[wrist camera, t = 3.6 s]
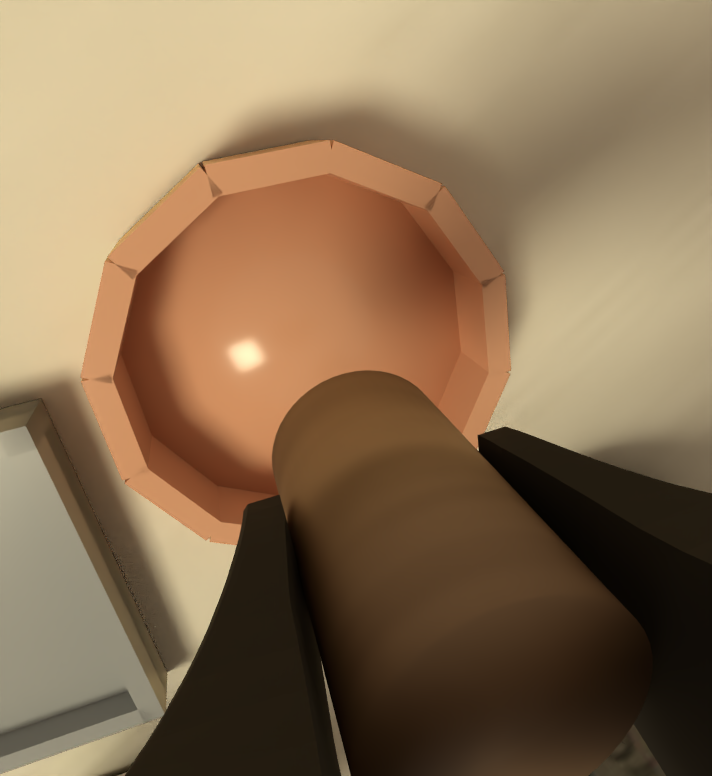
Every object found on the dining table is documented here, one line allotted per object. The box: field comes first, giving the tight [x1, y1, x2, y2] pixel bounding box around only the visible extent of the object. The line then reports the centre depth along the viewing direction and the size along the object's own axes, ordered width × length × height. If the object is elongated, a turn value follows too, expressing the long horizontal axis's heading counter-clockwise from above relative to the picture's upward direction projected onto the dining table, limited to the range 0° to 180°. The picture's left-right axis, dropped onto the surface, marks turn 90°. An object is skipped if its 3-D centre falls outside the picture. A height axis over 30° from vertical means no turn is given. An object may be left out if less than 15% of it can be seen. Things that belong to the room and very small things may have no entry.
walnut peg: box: [272, 370, 653, 776], centre depth 10 cm, size 4×4×7 cm
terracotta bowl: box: [81, 140, 511, 545], centre depth 19 cm, size 13×13×3 cm
